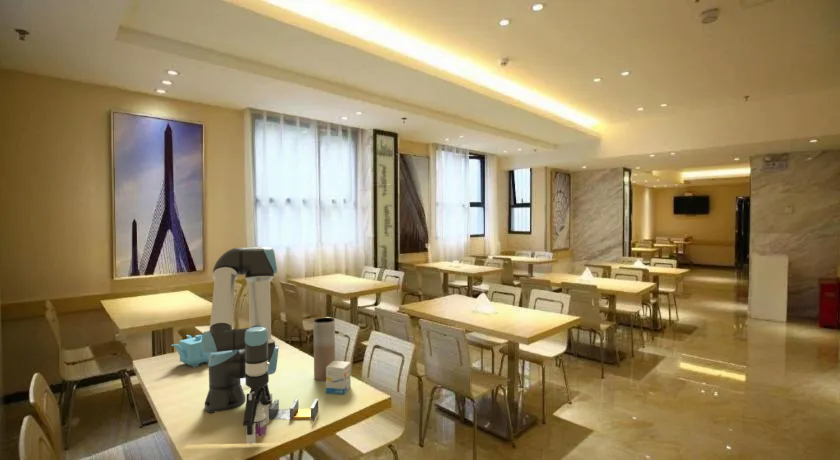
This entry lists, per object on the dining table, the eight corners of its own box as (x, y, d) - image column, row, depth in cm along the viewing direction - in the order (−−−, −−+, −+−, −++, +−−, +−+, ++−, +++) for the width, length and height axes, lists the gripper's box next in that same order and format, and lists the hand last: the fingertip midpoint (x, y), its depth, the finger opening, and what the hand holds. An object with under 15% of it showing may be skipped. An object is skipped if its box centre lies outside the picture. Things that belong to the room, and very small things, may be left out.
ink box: (344, 394, 181) (343, 368, 181) (325, 393, 183) (325, 366, 182) (351, 386, 190) (350, 361, 189) (333, 385, 191) (333, 360, 191)
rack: (247, 422, 157) (247, 409, 157) (255, 412, 165) (255, 399, 165) (313, 421, 158) (313, 408, 158) (318, 411, 166) (318, 398, 166)
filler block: (255, 417, 159) (254, 399, 159) (259, 411, 164) (259, 393, 164) (268, 417, 159) (268, 399, 159) (272, 411, 164) (272, 393, 164)
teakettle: (222, 356, 232) (221, 329, 232) (211, 368, 214) (211, 339, 213) (185, 358, 229) (184, 331, 228) (171, 370, 210) (170, 341, 210)
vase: (323, 372, 208) (322, 316, 207) (339, 375, 203) (338, 318, 202) (309, 379, 199) (308, 321, 198) (326, 382, 194) (325, 323, 193)
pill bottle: (246, 438, 146) (246, 411, 146) (257, 431, 151) (257, 404, 151) (259, 441, 144) (258, 413, 144) (269, 433, 149) (269, 407, 149)
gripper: (255, 386, 134) (256, 452, 135) (278, 360, 159) (279, 415, 160) (231, 387, 134) (232, 452, 135) (258, 360, 159) (259, 415, 160)
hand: (258, 432), depth 148 cm, fingers open, 13 cm apart
